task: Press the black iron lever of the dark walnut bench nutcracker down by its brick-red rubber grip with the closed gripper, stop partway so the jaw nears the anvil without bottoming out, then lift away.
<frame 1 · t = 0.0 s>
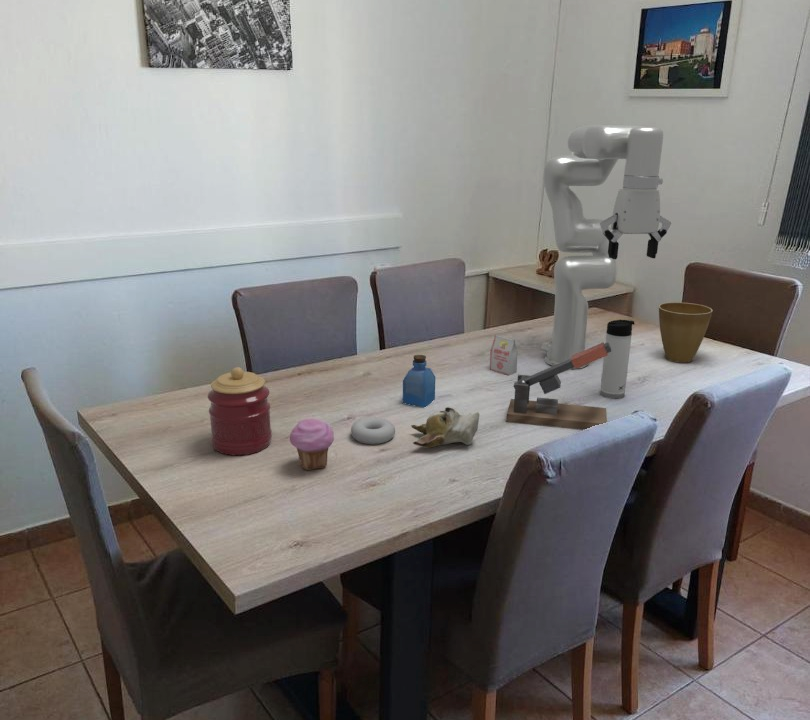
hand: (631, 257, 169), 37 cm above the table, fingers open, 9 cm apart
white paper bag: (502, 371, 204), on the table
travel mug: (612, 394, 187), on the table
nutcracker base: (520, 414, 173), on the table
cupcake: (313, 466, 147), on the table
ceramic sculpture: (445, 443, 158), on the table
plant pot: (678, 359, 216), on the table
lever: (563, 372, 167), point 12 cm above the table, hinge at 30.0°
canister: (242, 444, 157), on the table
donut: (372, 437, 161), on the table
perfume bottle: (418, 402, 181), on the table
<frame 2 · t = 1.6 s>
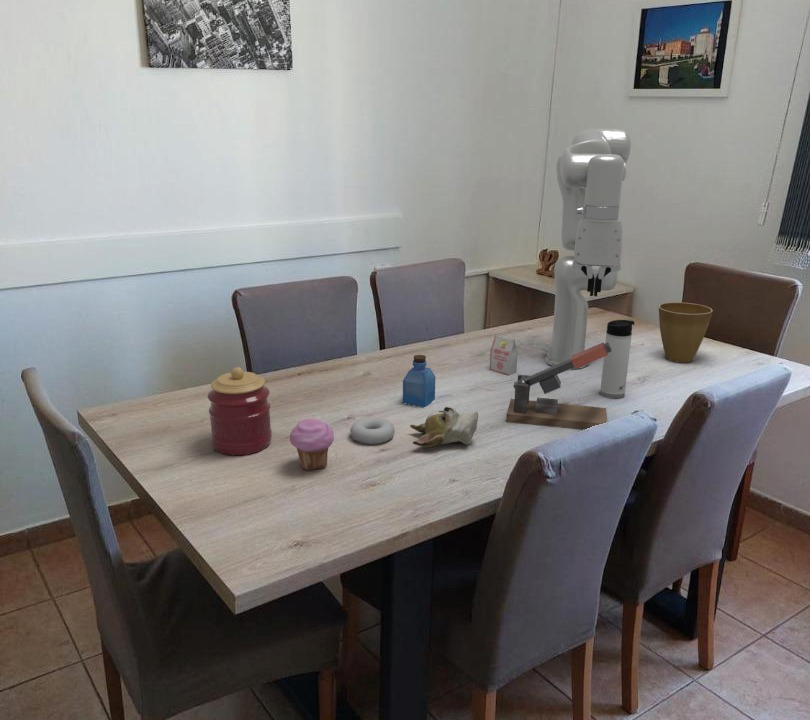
hand: (593, 295, 163), 30 cm above the table, fingers closed
nothing on the table moved.
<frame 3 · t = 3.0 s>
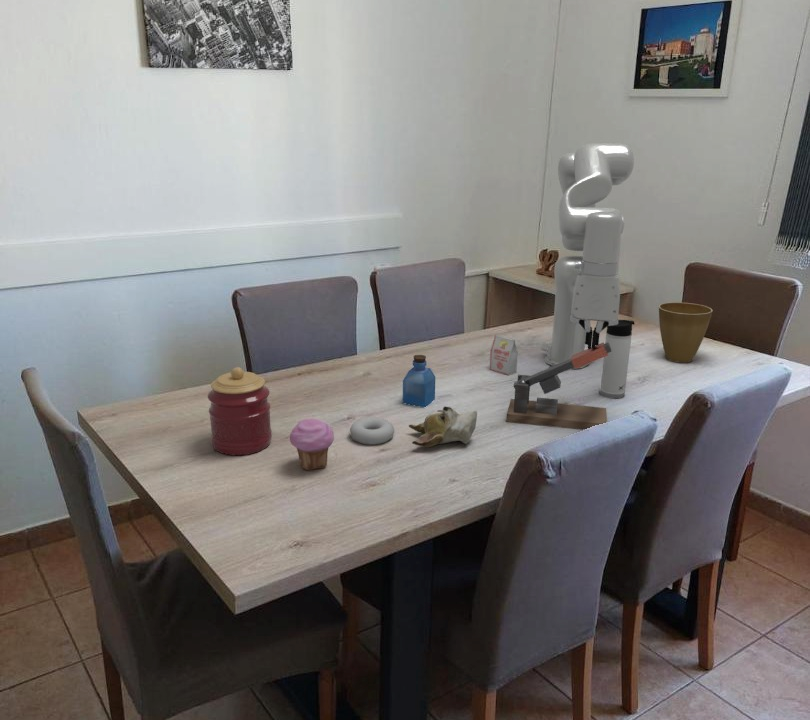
hand: (591, 347, 164), 19 cm above the table, fingers closed
lever: (563, 372, 167), point 12 cm above the table, hinge at 30.0°, touching gripper
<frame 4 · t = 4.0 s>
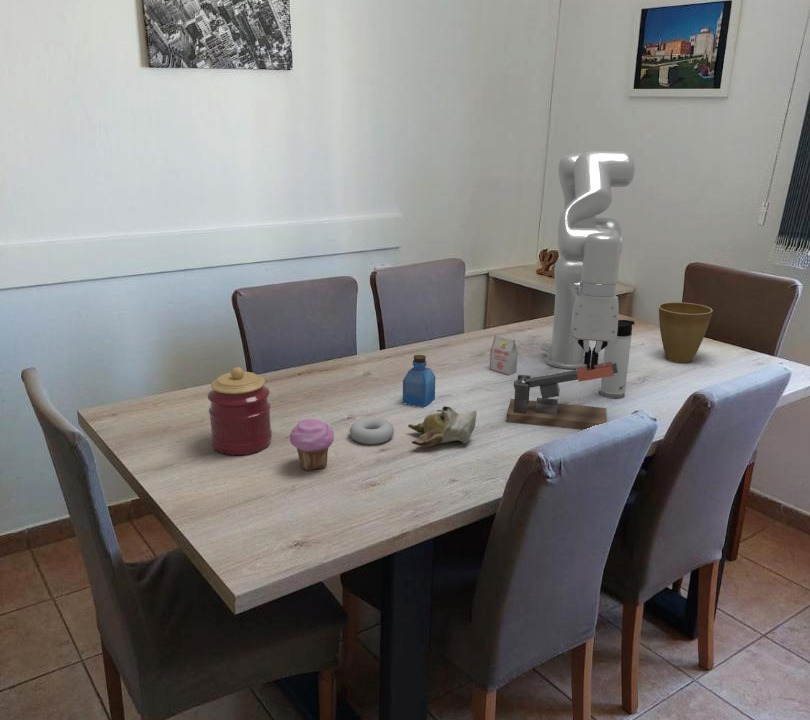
hand: (590, 367, 165), 14 cm above the table, fingers closed
lever: (565, 382, 168), point 10 cm above the table, hinge at 16.0°, touching gripper
everything else where it was.
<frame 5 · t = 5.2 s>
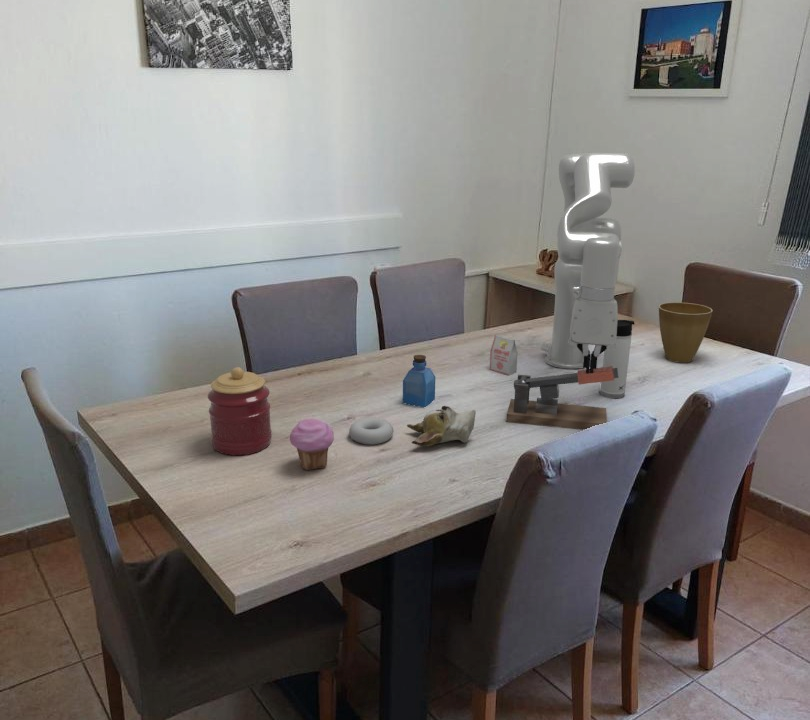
hand: (589, 370, 165), 13 cm above the table, fingers closed
lever: (565, 384, 168), point 9 cm above the table, hinge at 13.0°, touching gripper
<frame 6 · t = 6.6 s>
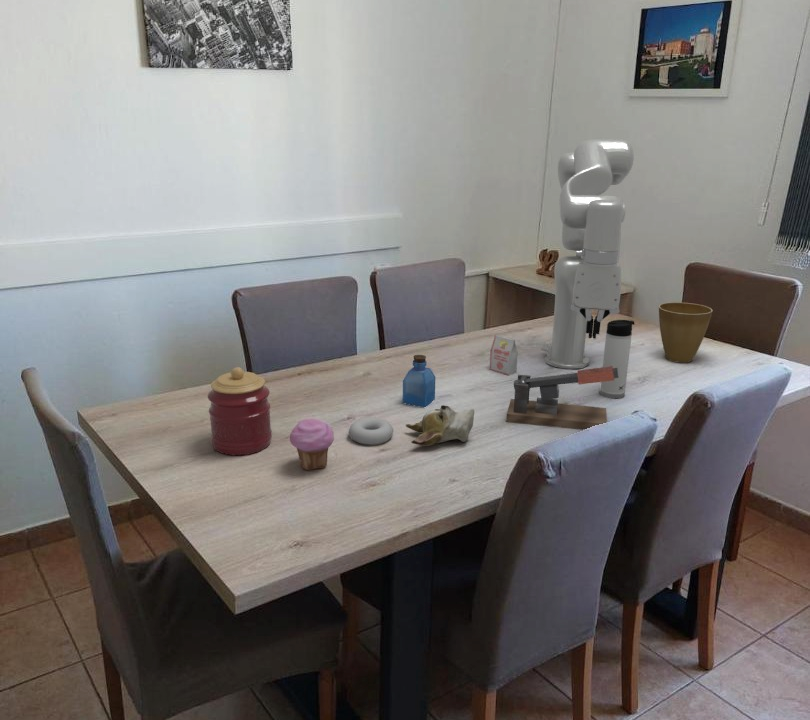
hand: (592, 336, 163), 21 cm above the table, fingers closed
lever: (565, 384, 168), point 9 cm above the table, hinge at 13.0°
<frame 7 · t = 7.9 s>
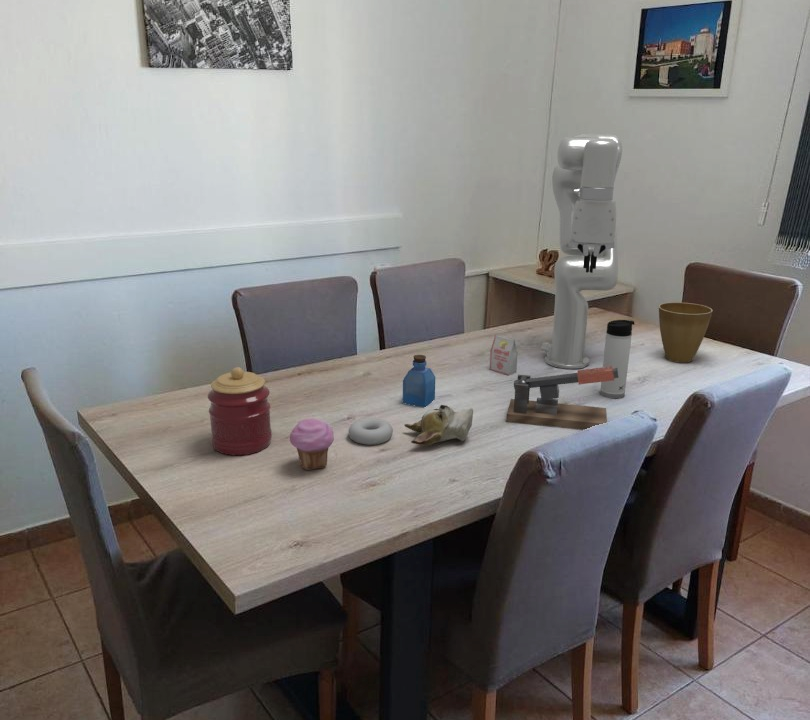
hand: (589, 271, 174), 33 cm above the table, fingers closed
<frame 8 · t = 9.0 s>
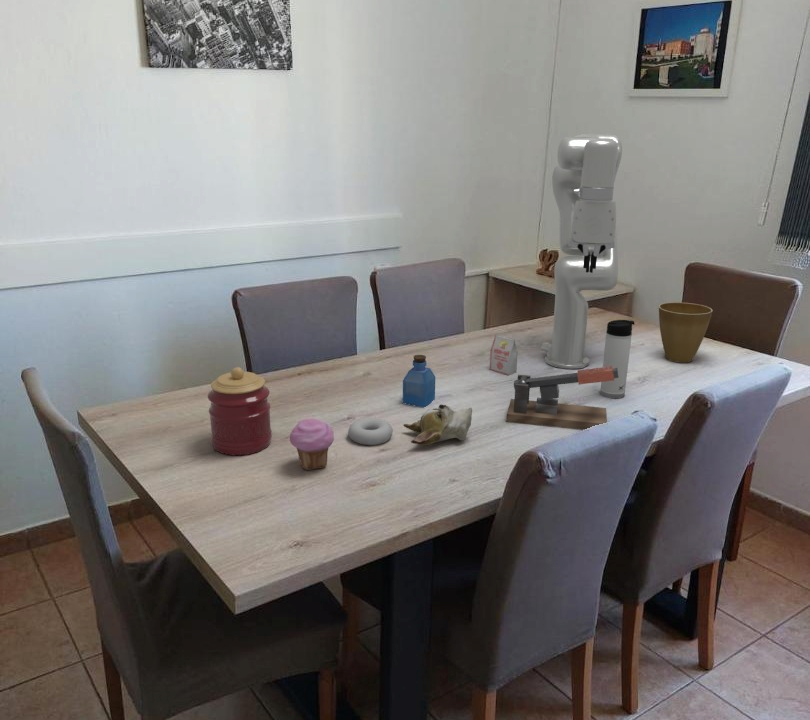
hand: (589, 271, 174), 33 cm above the table, fingers closed
at the end: lever at +13° (first picture: +30°); travel mug moved 0.2 cm from its start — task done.
